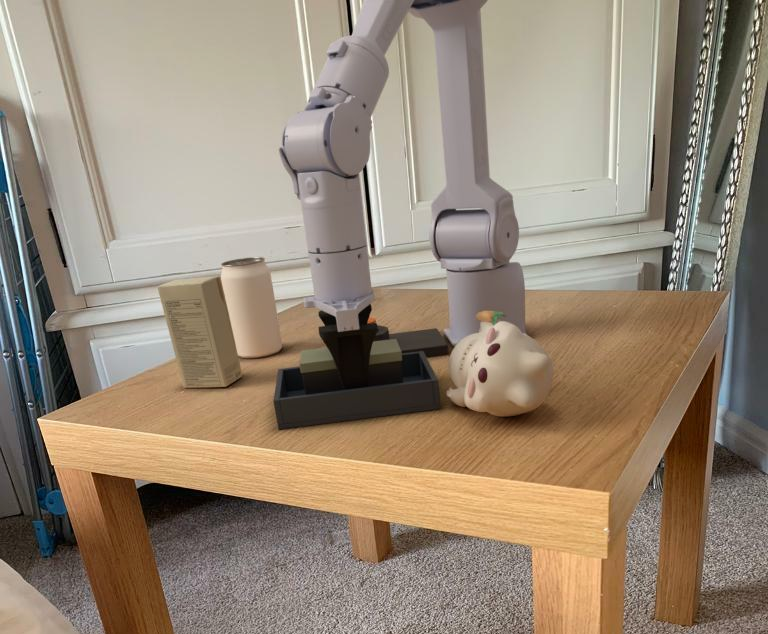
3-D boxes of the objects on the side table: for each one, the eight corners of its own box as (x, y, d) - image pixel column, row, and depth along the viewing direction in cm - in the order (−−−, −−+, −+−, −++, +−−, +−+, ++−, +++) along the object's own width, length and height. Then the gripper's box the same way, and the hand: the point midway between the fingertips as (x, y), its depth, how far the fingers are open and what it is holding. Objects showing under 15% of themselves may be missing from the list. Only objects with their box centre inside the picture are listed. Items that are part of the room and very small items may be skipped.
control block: (437, 336, 100) (436, 314, 99) (448, 354, 92) (446, 330, 91) (338, 349, 100) (335, 326, 98) (340, 367, 92) (337, 343, 90)
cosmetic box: (244, 377, 92) (224, 274, 87) (226, 388, 89) (204, 282, 83) (199, 377, 94) (176, 277, 89) (180, 388, 91) (155, 284, 85)
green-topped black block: (400, 384, 82) (396, 338, 80) (405, 398, 77) (401, 350, 75) (307, 395, 82) (300, 350, 79) (306, 411, 77) (299, 363, 75)
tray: (425, 376, 85) (423, 350, 83) (440, 409, 75) (438, 379, 73) (282, 394, 84) (278, 368, 83) (278, 429, 74) (273, 400, 73)
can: (274, 358, 99) (257, 263, 93) (228, 360, 100) (209, 267, 95) (289, 344, 104) (274, 254, 99) (245, 347, 106) (229, 258, 101)
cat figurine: (452, 299, 75) (526, 305, 62) (517, 329, 79) (600, 341, 65) (417, 389, 77) (481, 414, 63) (481, 414, 80) (555, 444, 67)
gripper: (297, 243, 79) (316, 369, 85) (294, 264, 66) (316, 411, 72) (364, 235, 79) (378, 361, 85) (374, 255, 66) (389, 402, 72)
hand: (354, 384), depth 79 cm, fingers open, 6 cm apart
